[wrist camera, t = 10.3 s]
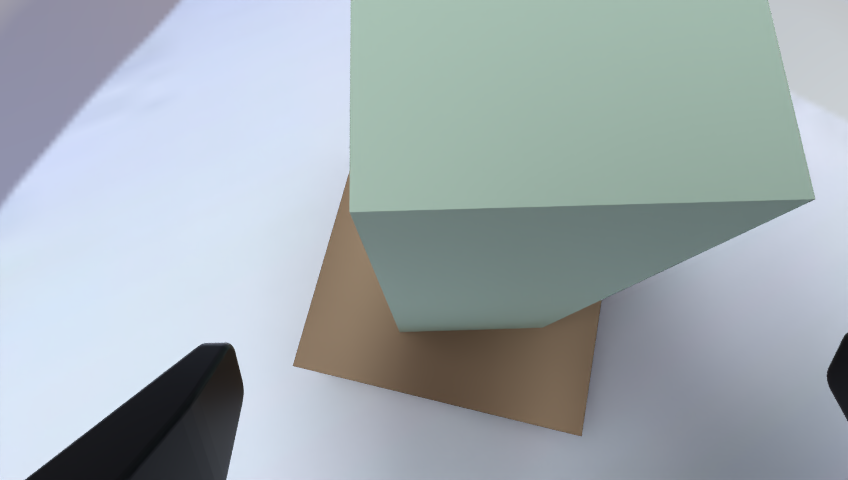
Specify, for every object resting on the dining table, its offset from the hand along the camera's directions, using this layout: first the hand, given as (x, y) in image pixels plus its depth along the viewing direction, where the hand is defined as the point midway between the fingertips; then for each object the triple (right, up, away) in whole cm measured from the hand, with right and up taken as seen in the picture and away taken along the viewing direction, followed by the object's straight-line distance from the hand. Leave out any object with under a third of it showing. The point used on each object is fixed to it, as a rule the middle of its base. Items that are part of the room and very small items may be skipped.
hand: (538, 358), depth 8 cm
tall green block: (0, +1, +9) cm, 9 cm away
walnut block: (0, 0, +13) cm, 13 cm away
